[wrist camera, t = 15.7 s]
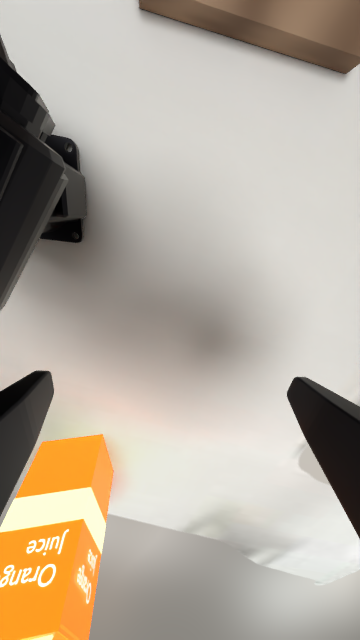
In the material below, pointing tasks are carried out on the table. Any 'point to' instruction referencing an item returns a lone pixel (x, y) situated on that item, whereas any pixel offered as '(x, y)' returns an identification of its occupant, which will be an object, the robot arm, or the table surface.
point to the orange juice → (55, 542)
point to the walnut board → (278, 25)
